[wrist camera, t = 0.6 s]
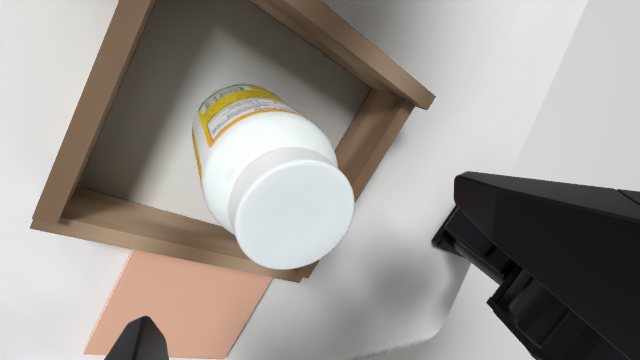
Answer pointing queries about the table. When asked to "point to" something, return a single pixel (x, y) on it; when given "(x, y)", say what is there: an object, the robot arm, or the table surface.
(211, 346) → the terracotta tile
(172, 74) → the table surface
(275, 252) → the supplement bottle
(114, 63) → the brown wooden tray
